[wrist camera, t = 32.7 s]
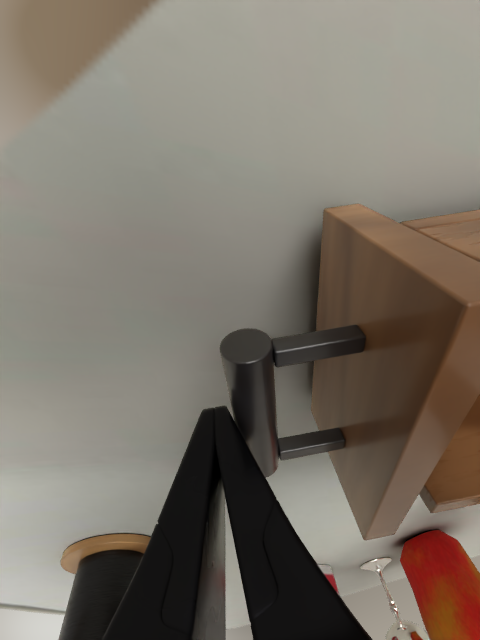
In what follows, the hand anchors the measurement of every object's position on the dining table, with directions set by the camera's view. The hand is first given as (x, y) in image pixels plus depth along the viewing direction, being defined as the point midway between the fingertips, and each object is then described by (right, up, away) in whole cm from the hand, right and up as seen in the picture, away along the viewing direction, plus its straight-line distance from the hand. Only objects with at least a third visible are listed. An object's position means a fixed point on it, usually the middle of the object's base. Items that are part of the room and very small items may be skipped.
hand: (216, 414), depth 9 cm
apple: (+23, -24, +26) cm, 42 cm away
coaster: (-10, -18, +16) cm, 26 cm away
